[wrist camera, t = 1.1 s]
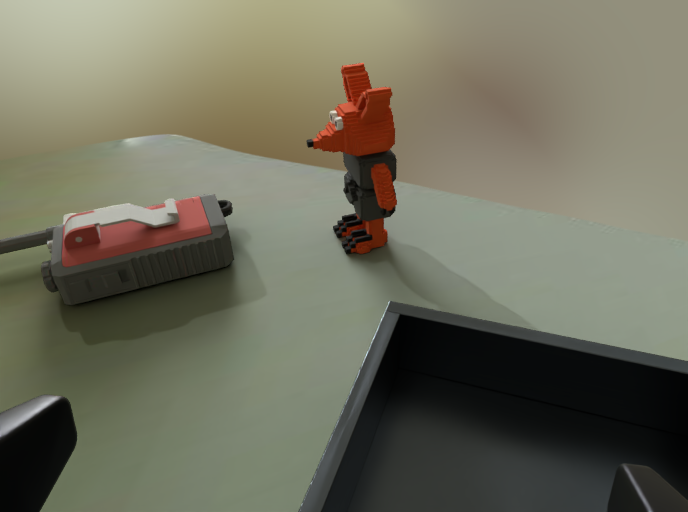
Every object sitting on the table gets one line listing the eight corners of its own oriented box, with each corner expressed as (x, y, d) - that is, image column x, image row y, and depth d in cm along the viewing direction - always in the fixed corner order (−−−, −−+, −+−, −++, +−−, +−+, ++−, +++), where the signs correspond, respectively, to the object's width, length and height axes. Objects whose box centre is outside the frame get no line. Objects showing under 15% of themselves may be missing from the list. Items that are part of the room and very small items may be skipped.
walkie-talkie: (228, 205, 46) (-42, 264, 41) (219, 156, 43) (-72, 213, 38) (253, 264, 39) (-66, 345, 34) (244, 211, 37) (-104, 290, 31)
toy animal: (302, 218, 44) (288, 65, 37) (368, 205, 45) (366, 55, 38) (331, 279, 38) (320, 109, 30) (406, 262, 39) (412, 95, 32)
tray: (781, 905, 15) (875, 883, 12) (267, 680, 20) (248, 626, 17) (699, 438, 27) (738, 370, 24) (388, 364, 31) (389, 300, 28)
